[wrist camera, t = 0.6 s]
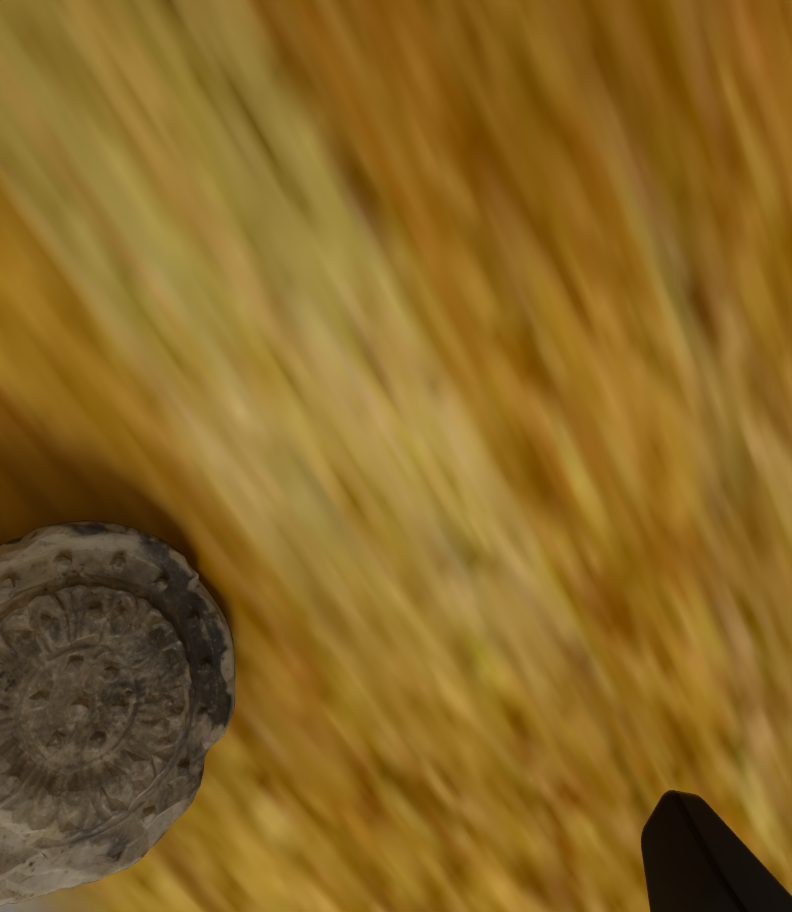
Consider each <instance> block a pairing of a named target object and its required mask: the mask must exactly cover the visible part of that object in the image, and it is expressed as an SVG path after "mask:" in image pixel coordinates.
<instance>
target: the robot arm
mask: <svg viewBox="0 0 792 912" xmlns="http://www.w3.org/2000/svg"><path fill="white" fill-rule="evenodd" d="M641 850H642V857H643V864H644V871H645V877H646V884H647V891H648V898H649V905H650V912H792V896H791V895H790V894H789V893H788V891H787V890H786V889H785V888H784V887H783V886H782V885H781V884H780V883H779V882H778V881H777V879H776V878H775V877H774V876H773V875H772V874H771V873H770V872H769V871H768V870H767V868H766V867H765V866H764V865H763V864H762V863H761V862H760V861H759V860H758V859H757V858H756V856H755V855H754V854H753V853H752V852H751V851H750V850H749V849H748V848H747V847H746V845H745V844H744V843H743V842H742V841H741V840H740V839H739V838H738V837H737V836H736V835H735V833H734V832H733V831H732V830H731V829H730V828H729V827H728V826H727V825H726V824H725V822H724V821H723V820H722V819H721V818H720V817H719V816H718V815H717V814H716V813H715V812H714V810H713V809H712V808H711V807H710V806H709V805H708V804H707V803H706V802H705V801H704V800H703V799H702V798H701V797H699V796H698V795H695V794H691V793H686V792H680V791H675V790H669V791H667V792H666V793H664V794H663V796H662V797H661V799H660V800H659V802H658V804H657V806H656V807H655V809H654V811H653V812H652V814H651V816H650V817H649V819H648V821H647V822H646V824H645V826H644V828H643V832H642V836H641Z"/></svg>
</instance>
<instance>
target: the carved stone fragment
mask: <svg viewBox="0 0 792 912" xmlns="http://www.w3.org/2000/svg"><path fill="white" fill-rule="evenodd" d="M198 578H199V574H197V573H196V572H195V571H194V570H193V569H192V568H191V566H190V565H189V564H188V562H187V560H186V559H185V557H184V556H183V554H182V553H181V552H179V551H178V550H176V549H175V548H173V547H172V546H170V545H169V544H167V543H166V542H164V541H163V540H162V539H160V538H158V537H156V536H153V535H151V534H148V533H145V532H142V531H140V530H137V529H134V528H131V527H128V526H124V525H119V524H114V523H109V522H104V521H76V522H67V523H59V524H52V525H47V526H43V527H40V528H37V529H34V530H32V531H31V532H30V533H28V534H27V535H26V536H23V537H20V538H18V539H15V540H12V541H9V542H7V543H4V544H2V545H0V905H3V904H14V903H19V902H24V901H28V900H31V899H33V898H36V897H39V896H42V895H45V894H49V893H51V892H53V891H55V890H57V889H59V888H74V887H76V886H78V885H80V884H84V883H91V882H94V881H98V880H100V879H102V878H104V877H106V876H108V875H111V874H113V873H115V872H117V871H121V870H125V869H127V868H129V867H130V866H132V865H133V864H134V863H136V862H137V861H139V860H140V859H142V858H143V857H144V855H145V854H146V853H147V851H148V850H149V849H150V848H151V847H152V846H153V845H155V844H156V843H157V841H158V840H159V839H160V838H161V837H162V836H163V835H164V833H165V832H166V831H167V829H168V828H169V827H170V825H171V824H172V823H173V822H174V821H175V820H176V819H177V818H178V817H179V816H181V815H182V814H183V813H184V812H185V811H186V810H187V809H188V807H189V806H190V804H191V803H192V802H193V800H194V797H195V794H196V792H197V790H198V789H199V787H200V784H201V780H202V776H203V771H204V758H205V756H206V754H207V752H208V750H209V748H210V746H211V745H213V744H214V743H215V742H217V741H218V740H219V739H220V738H221V737H222V736H223V735H224V733H225V731H226V729H227V726H228V724H229V721H230V719H231V717H232V715H233V713H234V707H235V660H234V647H233V639H232V634H231V632H230V629H229V626H228V623H227V620H226V617H225V615H224V613H223V612H222V610H221V609H220V607H219V606H218V604H217V603H216V601H215V599H214V598H213V596H212V595H211V594H210V593H209V592H208V590H207V589H206V588H205V587H204V586H203V584H202V583H201V582H200V581H199V579H198Z"/></svg>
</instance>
